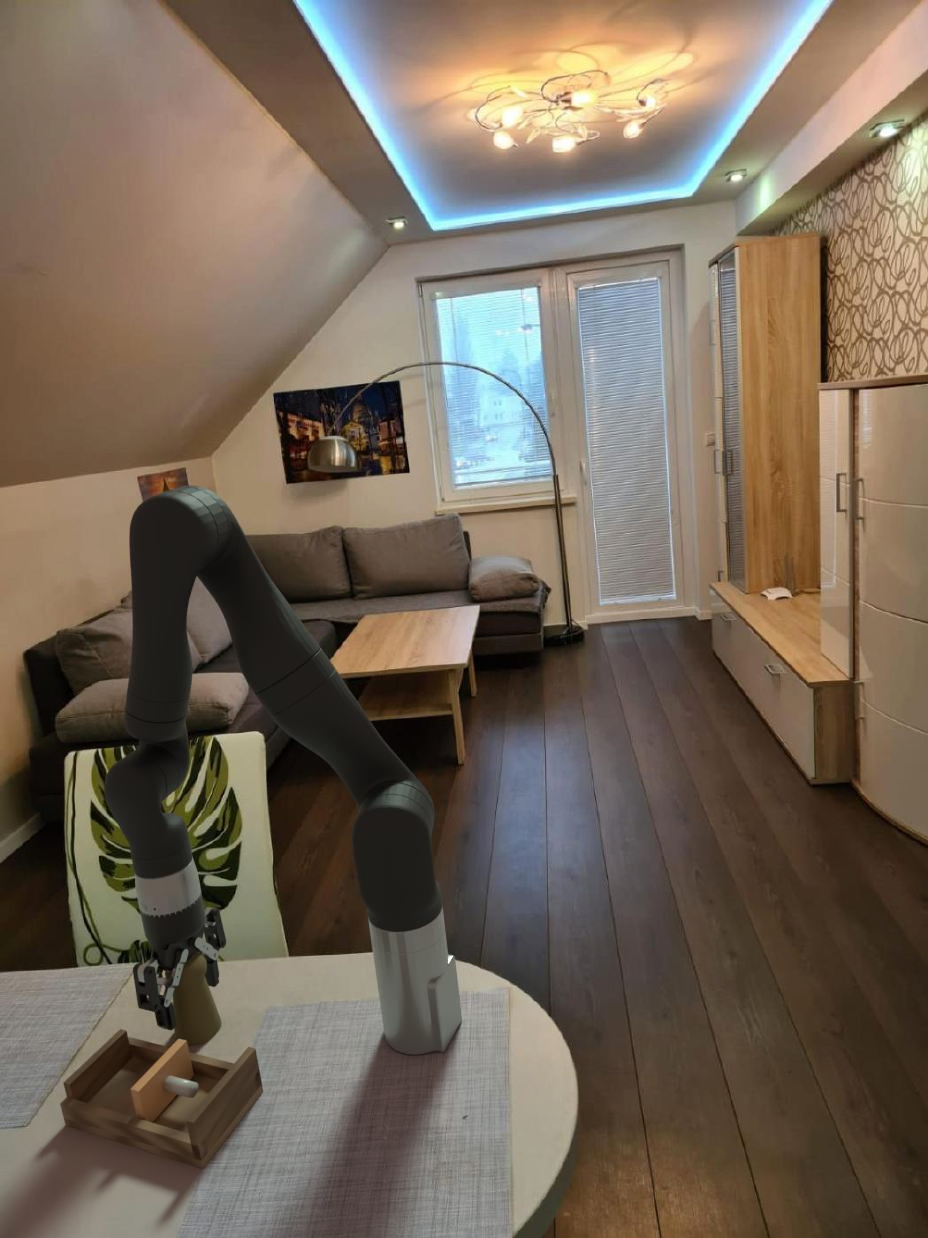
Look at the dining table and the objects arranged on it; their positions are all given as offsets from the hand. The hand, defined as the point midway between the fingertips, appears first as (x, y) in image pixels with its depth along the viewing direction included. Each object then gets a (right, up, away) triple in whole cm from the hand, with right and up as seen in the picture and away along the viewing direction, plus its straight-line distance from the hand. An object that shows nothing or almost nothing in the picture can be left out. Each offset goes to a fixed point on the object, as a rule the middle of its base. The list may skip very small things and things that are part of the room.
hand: (190, 1005), depth 111 cm
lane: (+1, -7, -12) cm, 13 cm away
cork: (+1, -4, +1) cm, 4 cm away
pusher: (+3, -6, -13) cm, 14 cm away
